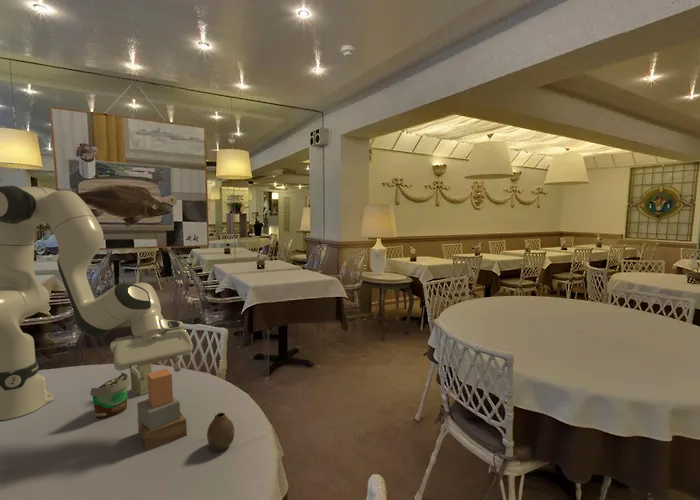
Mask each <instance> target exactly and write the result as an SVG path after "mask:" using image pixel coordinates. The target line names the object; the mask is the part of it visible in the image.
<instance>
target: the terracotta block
mask: <svg viewBox="0 0 700 500" xmlns="http://www.w3.org/2000/svg"><path fill="white" fill-rule="evenodd" d="M172 375H173V374H172V373H171V372H170V371H169V369H168V368H163V369H160V370H155V371H151V372H150V373H147V380H148V393H147V396H148V399H149V402H150V404H151V405H152V407H153V408H155V407H158V406H161V405H164V404H168V403H171V402H173V397H174V394H173V393H174V392H173V376H172Z"/></svg>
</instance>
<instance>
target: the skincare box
mask: <svg viewBox="0 0 700 500" xmlns="http://www.w3.org/2000/svg"><path fill="white" fill-rule="evenodd" d="M137 370H138V371H139V372H144V377H145V378H144V380H142V381H138V380H137V376H136V375H134V374H133V373H132V372H131V369H129V372H130V375H129V376H130V389H131V392H133V393H134V394H137V395H138V396H143V395H146V394H148V380H147V373H150V372H152V364H147V365H143V366H138V367H137Z"/></svg>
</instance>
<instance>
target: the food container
mask: <svg viewBox="0 0 700 500" xmlns="http://www.w3.org/2000/svg"><path fill="white" fill-rule="evenodd" d="M129 385H131V378H130V376H128V374H127V373H126V372H121V373H120V375H119V376H117V377H115V378H114V379H110V380H108V381H106V382H104V383H103V384H102V385H100V386H98V387H91V390H90V396H92V400H93V401H92V402H93V406H94V408H93V409H94V413H95V418H96V419H107V418H108V419H109V418H112V417H114V416H118V415H120V414H122V413H123V412H125V411H126V410H127V408H128V387H129Z"/></svg>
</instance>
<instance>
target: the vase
mask: <svg viewBox="0 0 700 500" xmlns="http://www.w3.org/2000/svg"><path fill="white" fill-rule="evenodd" d="M206 438H207V443H208V445H209V447H211V449H212V450H215V451H224V450H226V449H227V448H228V447H230V445H232V443H233V441H234V438H235V426H234V424H233V421H232V420H231V419H230V418H229V417H228V416H227V415H226V413H225V412H218V413H216V414H215V415H214V418H213V419H212V421H211V422H210V423H209V426H208V428H207V431H206Z"/></svg>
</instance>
